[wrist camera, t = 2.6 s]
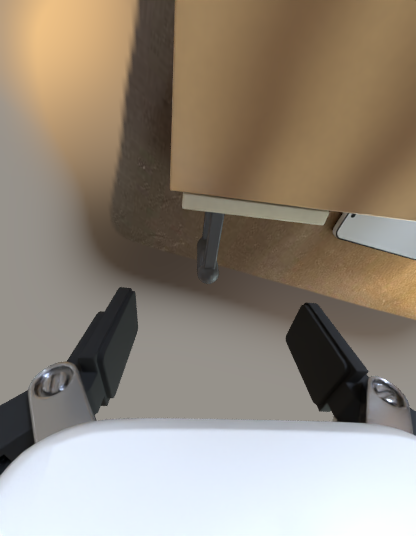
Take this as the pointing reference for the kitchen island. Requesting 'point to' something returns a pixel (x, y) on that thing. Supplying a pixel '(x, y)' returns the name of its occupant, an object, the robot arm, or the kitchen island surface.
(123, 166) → the kitchen island surface
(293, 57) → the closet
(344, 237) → the smartphone
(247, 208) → the closet door
